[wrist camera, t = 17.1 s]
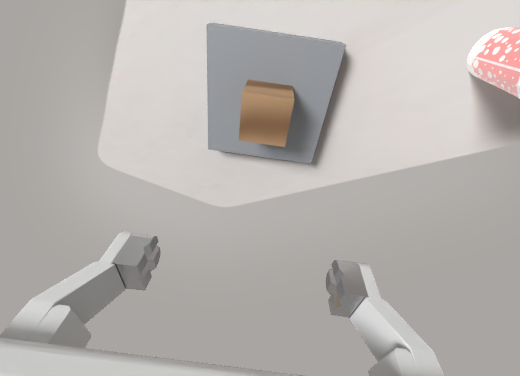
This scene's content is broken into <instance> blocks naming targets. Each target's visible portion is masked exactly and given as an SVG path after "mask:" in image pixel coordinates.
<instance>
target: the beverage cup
mask: <svg viewBox="0 0 520 376" xmlns="http://www.w3.org/2000/svg"><path fill="white" fill-rule="evenodd" d="M466 64H467V69H468V71H469V72H470V73H471V74H472V75H473V76H475V77H477V78H479V79H481V80H483V81H485V82H488V83H490V84H492V85H494V86H496V87H498V88H500V89H502V90H504V91H506V92H508V93H510V94H512V95H514V96H516V97H518V98H519V99H520V28H500V29H496V30H493V31H491V32H489V33H488V34H486V35H484V36H483V37H482V38H481V39H480V40H479V41H478V42H477V43H476V44H475V45H474V46H473V48H472V49H471V51H470V53H469V54H468V59H467V63H466Z"/></svg>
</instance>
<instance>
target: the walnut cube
mask: <svg viewBox="0 0 520 376" xmlns="http://www.w3.org/2000/svg"><path fill="white" fill-rule="evenodd" d="M293 105H294V93H293V86H290V85H283V84H276V83H269V82H262V81H256V80H249V79H248V80H247V83H246V85H245V87H244V89H243V91H242V100H241V114H240V128H239V141H246V142H253V143H260V144H267V145H274V146H281V147H285V144H286V139H287V134H288V129H289V124H290V120H291V115H292V110H293Z"/></svg>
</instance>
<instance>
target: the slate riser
mask: <svg viewBox="0 0 520 376" xmlns="http://www.w3.org/2000/svg"><path fill="white" fill-rule="evenodd" d="M345 47H346V45H345V44H343V43H342V42H337V41H330V40H323V39H317V38H310V37H303V36H297V35H290V34H284V33H277V32H270V31H264V30H257V29H250V28H244V27H237V26H230V25H224V24H217V23H209V24H207V86H208V149H210V150H217V151H224V152H231V153H238V154H245V155H252V156H259V157H266V158H273V159H281V160H288V161H295V162H302V163H309V164H311V162H312V159H313V155H314V152H315V149H316V145H317V142H318V138H319V135H320V132H321V128H322V125H323V121H324V118H325V115H326V111H327V108H328V105H329V101H330V98H331V94H332V91H333V88H334V84H335V81H336V77H337V74H338V71H339V67H340V64H341V61H342V57H343V54H344V50H345ZM248 79H249V80H256V81H262V82H269V83H276V84H283V85H290V86H293V93H294V105H293V110H292V115H291V120H290V124H289V129H288V134H287V139H286V144H285V147H281V146H274V145H267V144H260V143H253V142H246V141H239V128H240V114H241V100H242V91H243V89H244V87H245V85H246V83H247V80H248Z"/></svg>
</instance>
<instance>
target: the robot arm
mask: <svg viewBox="0 0 520 376" xmlns="http://www.w3.org/2000/svg"><path fill="white" fill-rule="evenodd" d="M157 243H158V239H157V237H156V236H150V235H143V234H137V233H130V232H123V231H122V232H121V233H119V234H118V236H117V237H116V238H115V240H114V241H113V242H112V244H111V245H110V247H109V248H108V249H107V251H106V252H105V254H104V255H103V256H102V258H101V259H100V260H99V262H94V263H92V264H90V265H88V266H87V267H85V268H83V269H82V270H80V271H78V272H77V273H75V274H73V275H72V276H70V277H68V278H66V279H65V280H63V281H61V282H60V283H58V284H56V285H55V286H53V287H51V288H49V289H48V290H46V291H45V292H43V293H41V294H40V295H38V296H36V297H34V298H32V299H31V300H30V301H29V302H28V303H27V304H26V306H25V307H24V308H23V309H22V310H21V311H20V312H19V314H18V315H17V316H16V317H15V318H14V320H13V321H12V322H11V323H10V324H9V325H8V326H7V328H6V329H5V330H4V331H3V333H1V335H0V376H302V375H294V374H287V373H279V372H271V371H263V370H254V369H246V368H239V367H231V366H223V365H215V364H207V363H199V362H191V361H182V360H174V359H167V358H158V357H151V356H143V355H134V354H127V353H118V352H111V351H103V350H94V349H87V348H85V347H86V345H87V343H88V341H89V340H90V338H91V334H90V332H89V331H88V329H87V328H86V327H85V326H84V324H85V323H87V322H88V321H89V320H90V319H91V318H92V317H94V316H95V315H96V314H97V313H98V312H100V311H101V310H102V309H103V308H104V307H106V306H107V305H108V304H109V303H110V302H111V301H113V300H114V299H115V298H116V297H117V296H119V295H120V294H121V293H122V292H123V291H124V290H125V288H126V289H136V290H145V289H146V287H147V285H148V283H149V281H150V279H151V271H152V270H154V269H155V268H156V266H157V264H158V262H159V258H160V247H158V246H157ZM326 287H327V291H328V292H329V294H330V295H331V296H330V298H329V306H330V312H331V315H337V316H343V317H349V318H350V320H351V322H352V323H353V325H354V326H355V328H356V329H357V331H358V332H359V334H360V335H361V337H362V338H363V340H364V341H365V343H366V344H367V346H368V347H369V349H370V350H371V352H372V353H373V355H374V356H375V358H376V359H377V361H378V363H377V364H375V365H374V366H373V367H372V368H371V369H370V370H369V376H444V374H443V372H442V369H441V367H440V365H439V363H438V360H437V358H436V356H435V353H434V352H433V350H432V349H431V348H430V347H429V346H428V345H427V344H426V343H425V342H424V341H423V340H422V339H421V338H420V337H419V336H418V335H417V333H416V332H415V331H414V330H413V329H412V328H411V327H410V326H409V325H408V324H407V323H406V322H405V321H404V320H403V319H402V317H401V316H400V315H399V314H398V313H397V312H396V311H395V310H394V309H393V308H392V307H391V306H390V305H389V304H388V303H387V302H386V301H385V300H383V299H381V297H380V293H379V291H378V288H377V285H376V282H375V280H374V276H373V273H372V271H371V268H370V266H369V265H368V264H361V263H355V262H347V261H339V260H335V261H333V263H332V269H330V270H329V271H328V273H327V277H326Z"/></svg>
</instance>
